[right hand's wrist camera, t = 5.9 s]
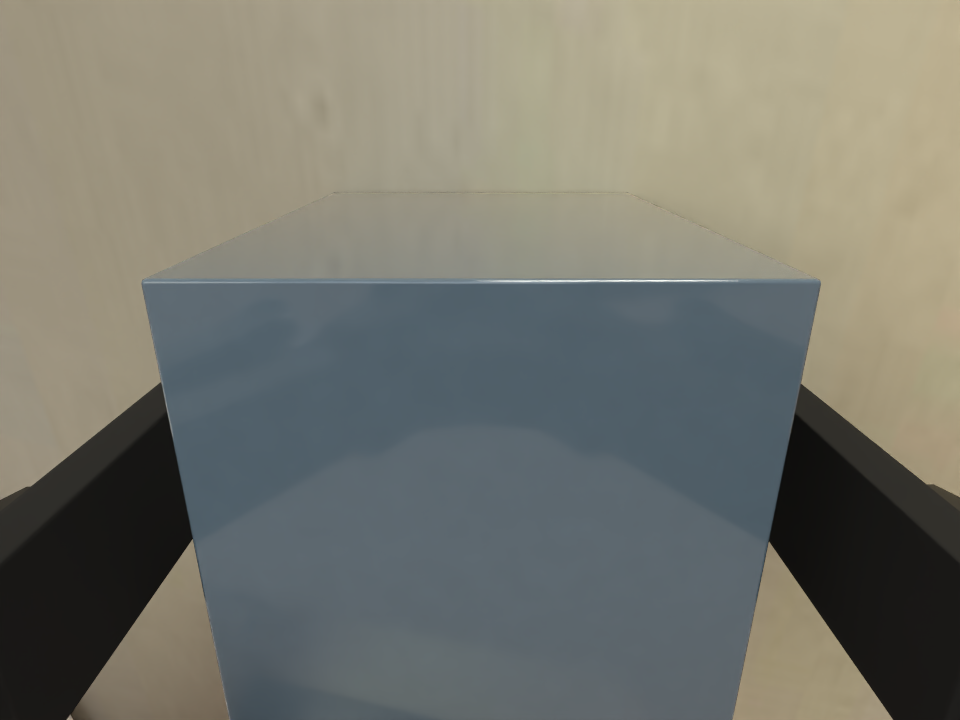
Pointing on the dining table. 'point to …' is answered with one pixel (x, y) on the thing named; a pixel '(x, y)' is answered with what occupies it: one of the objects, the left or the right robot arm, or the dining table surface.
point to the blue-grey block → (481, 454)
